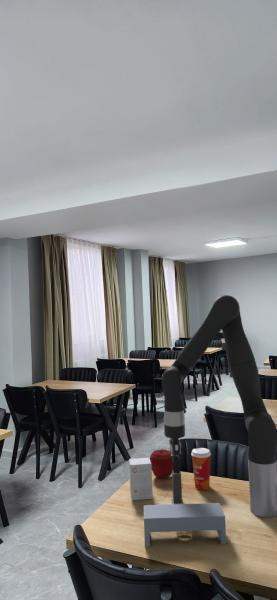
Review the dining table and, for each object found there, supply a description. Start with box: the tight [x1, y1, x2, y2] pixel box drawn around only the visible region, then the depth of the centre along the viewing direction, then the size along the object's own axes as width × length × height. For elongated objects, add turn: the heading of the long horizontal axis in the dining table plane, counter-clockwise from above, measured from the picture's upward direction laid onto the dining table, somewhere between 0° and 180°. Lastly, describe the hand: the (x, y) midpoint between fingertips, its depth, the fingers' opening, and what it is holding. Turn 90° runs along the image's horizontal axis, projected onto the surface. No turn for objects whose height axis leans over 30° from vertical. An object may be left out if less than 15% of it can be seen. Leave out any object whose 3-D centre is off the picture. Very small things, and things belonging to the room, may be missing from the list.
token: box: [176, 531, 192, 543], centre depth 117 cm, size 4×4×1 cm
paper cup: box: [190, 447, 212, 491], centre depth 152 cm, size 8×8×14 cm
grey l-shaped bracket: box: [171, 471, 185, 504], centre depth 131 cm, size 4×18×11 cm, turn 179°
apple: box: [149, 448, 173, 480], centre depth 162 cm, size 11×11×12 cm
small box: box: [128, 457, 154, 501], centre depth 146 cm, size 8×6×13 cm
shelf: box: [143, 502, 227, 547], centre depth 117 cm, size 24×8×8 cm, turn 90°
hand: (175, 468), depth 139 cm, fingers open, 8 cm apart
